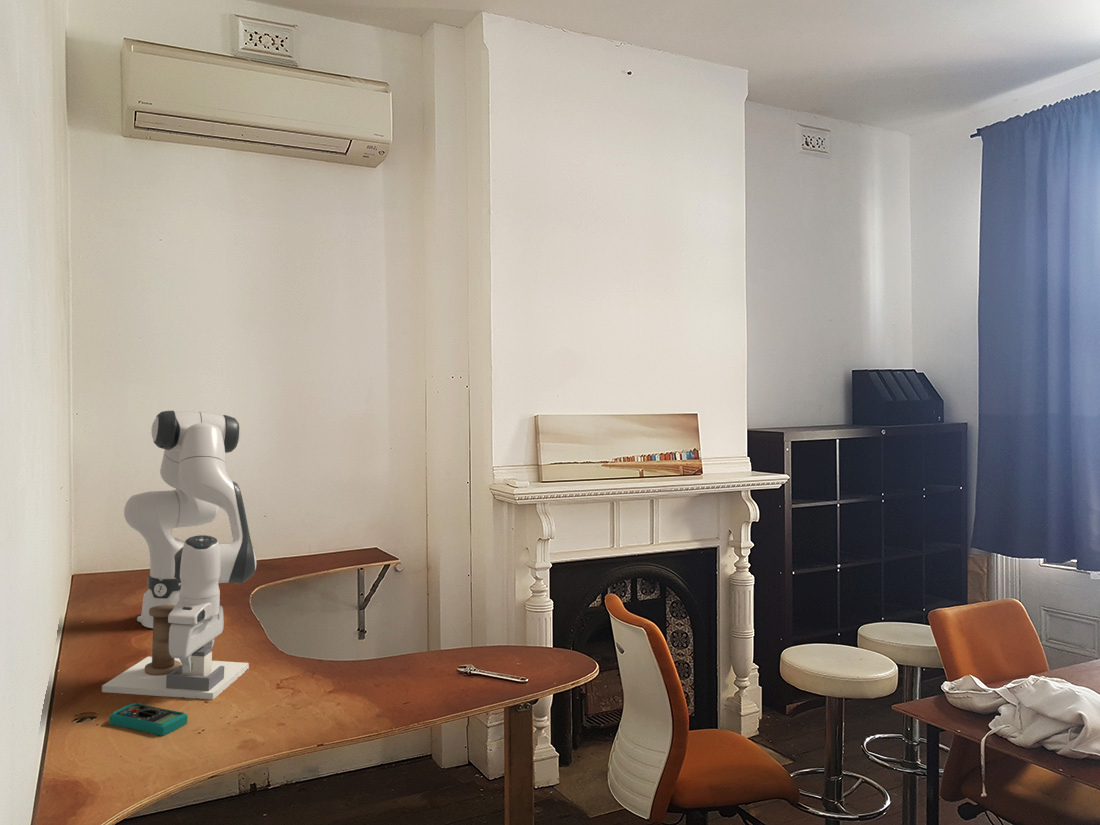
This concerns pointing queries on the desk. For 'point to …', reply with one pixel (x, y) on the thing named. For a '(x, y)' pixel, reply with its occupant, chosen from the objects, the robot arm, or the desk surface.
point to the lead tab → (201, 662)
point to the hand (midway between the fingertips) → (197, 664)
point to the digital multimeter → (148, 719)
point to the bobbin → (161, 642)
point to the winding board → (176, 681)
